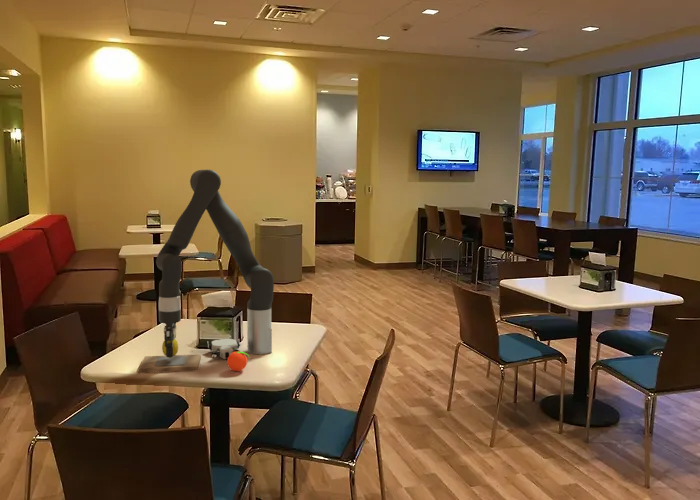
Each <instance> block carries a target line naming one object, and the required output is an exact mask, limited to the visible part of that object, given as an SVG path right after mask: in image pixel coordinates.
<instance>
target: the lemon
mask: <svg viewBox="0 0 700 500" xmlns="http://www.w3.org/2000/svg"><path fill="white" fill-rule="evenodd" d="M167 343H171V341H167ZM178 343H179V342H178V340H177V339H176V338H175V340H173V356H175V355H178V351H179V344H178ZM161 351H162V353H163V356H166V347H165V340H163V342H162V345H161ZM169 358H172V357H169Z"/></svg>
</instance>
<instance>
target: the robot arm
mask: <svg viewBox="0 0 700 500" xmlns="http://www.w3.org/2000/svg"><path fill="white" fill-rule="evenodd" d="M189 183H190V188H191V189H192V191H193V195H192V197H191V199H190V201H189V203H188V205H187V206H186V208H185V209H184V210H183V212H182V213H181V215H180V216H179V217H178V218H177V220H176V222H175V225H174V226H173V228H172V231H171V233H170V235H169V237H168V240H167V241H166V242H165V244H164V245H163V246H162V247H161V249H160V250H159V252H158V254H157V256H156V260H155V263H156V266H157V268H158V270H160V271H162V272H161V273H162V274H161V275H162V276H161V280H160V281H159V283H158V322H159V323H161V324H165V325H164V327H163V334H164V335H163V337H164V338H163V339H164V340H165V347H166V357H173V340H175V339H176V338H177V325H176V324H177V323H179V322H181V321H182V315H181V314H182V313H181V312H182V311H181V310H182V309H181V307H182V305H181V296H180V294H181V292H180V286H181V285H180V283H181V277H182V270H183V263H182V259H181V258H180V255H181V253H182V251H183V250H185V249H188V248H187V247H188V246H189V244H190V242H191V240H192V238H193V236H194V233H195V231H196V230H197V226H198V225H199V223H200V220H201V218H202V217H203V215H204V213H205V211H206V212H207V213H208V216H209V217H210V219H211V221H212V223H213V225H214V228H216V231H217V233H218V235H219V237H220V238H221V240H222V241H223V242H222V243H223V244H224V245H225V246H226V248H227V250H228V252H229V253H230V254H231V256H232V258H233V259H234V262H236V264H237V266H238V268H239V271H240V274H241V275H242V277H243V280H244V282H245V284H246V286H247V287H248V288H250V299H248V301H247V303H246V304H247V306H246V307H247V311H246V313H247V320H246V322H247V329H246V330H247V346H246V347H247V353H249V354H252V355H265V354H269V353H273V351H272V350H273V344H272V343H273V339H272V338H273V337H272V336H273V333H272V330H273V329H272V303H273V300H274V293H275V291H274V290H275V289H274V287H275V286H274V285H275V284H274V283H275V282H274V281H275V279H274V275H273V273H272V271H270V270H269V269H267V268H265V267H263V266H262V265H261V264H260V262H259V261H258V260H257V258H256V257H255V255H254V252H253V250H252V247H251V241H250V238H249V234H248V233H247V230H246V228H245V227H244V225H243V223H242V222H241V220H240V218H239V216H237V214H236V212H234V211H233V210H232V209H231V208H230V206H229V205H228V204H227V202H226V201H224V198H223V197H222V196H221V194H220V191H219V190H220V188H221V184H222V179H221V176H220V175H219V174H218V172H217V171H215V170H213V169H200V170H199V169H198V170H196V171H194V172H193V173H192V175H190V179H189ZM164 340H163V341H164ZM167 341H171V343H167Z"/></svg>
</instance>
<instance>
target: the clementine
mask: <svg viewBox="0 0 700 500" xmlns="http://www.w3.org/2000/svg"><path fill="white" fill-rule="evenodd" d="M246 355H247V356H248V358H249V359H251V358H250V356H249V354H248V353H246V352H245V351H241V350H239V351H235V352H233V353H231V354H230V355H229V357H228V359H227V361H226V363H227V367H228V368H229V369H230V370H231V371H233V372H241V371H243V370H244V369H245V368H246V367H247V365H248V358H247V356H246Z"/></svg>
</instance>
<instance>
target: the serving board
mask: <svg viewBox="0 0 700 500" xmlns="http://www.w3.org/2000/svg"><path fill="white" fill-rule="evenodd" d="M201 355H202V354H201V353H200V354H198V353H195V354H176V355H175V356H173V357H172V358H169V357H166V356H165V355H150V356H149V355H148V356H147V355H145V356H144V357H143V359H142V362H141V364H140V366H139V368H138V373H139V374H147V373H149V374H151V373H169V372H171V373H172V372H175V371H176V372H195V371H199V369H200V364H201V359H202V356H201Z"/></svg>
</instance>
